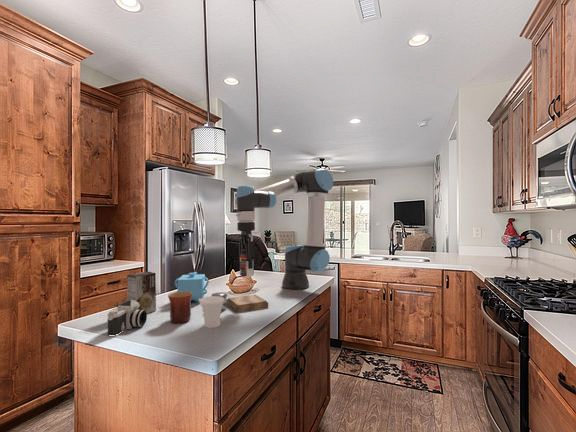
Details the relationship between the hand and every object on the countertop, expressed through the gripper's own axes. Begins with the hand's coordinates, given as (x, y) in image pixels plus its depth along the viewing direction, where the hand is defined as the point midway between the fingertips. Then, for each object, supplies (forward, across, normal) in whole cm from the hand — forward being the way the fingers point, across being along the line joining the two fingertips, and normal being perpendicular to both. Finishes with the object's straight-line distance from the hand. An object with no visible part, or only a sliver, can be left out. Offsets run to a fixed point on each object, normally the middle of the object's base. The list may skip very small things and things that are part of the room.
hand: (247, 274), depth 136 cm
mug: (+14, +4, -29) cm, 32 cm away
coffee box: (+14, -13, -41) cm, 45 cm away
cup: (+14, +16, -20) cm, 29 cm away
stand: (+14, -1, 0) cm, 14 cm away
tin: (+14, -2, -12) cm, 18 cm away
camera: (+13, +5, -46) cm, 49 cm away
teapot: (+14, -25, -18) cm, 34 cm away
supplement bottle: (0, 0, 0) cm, 0 cm away
